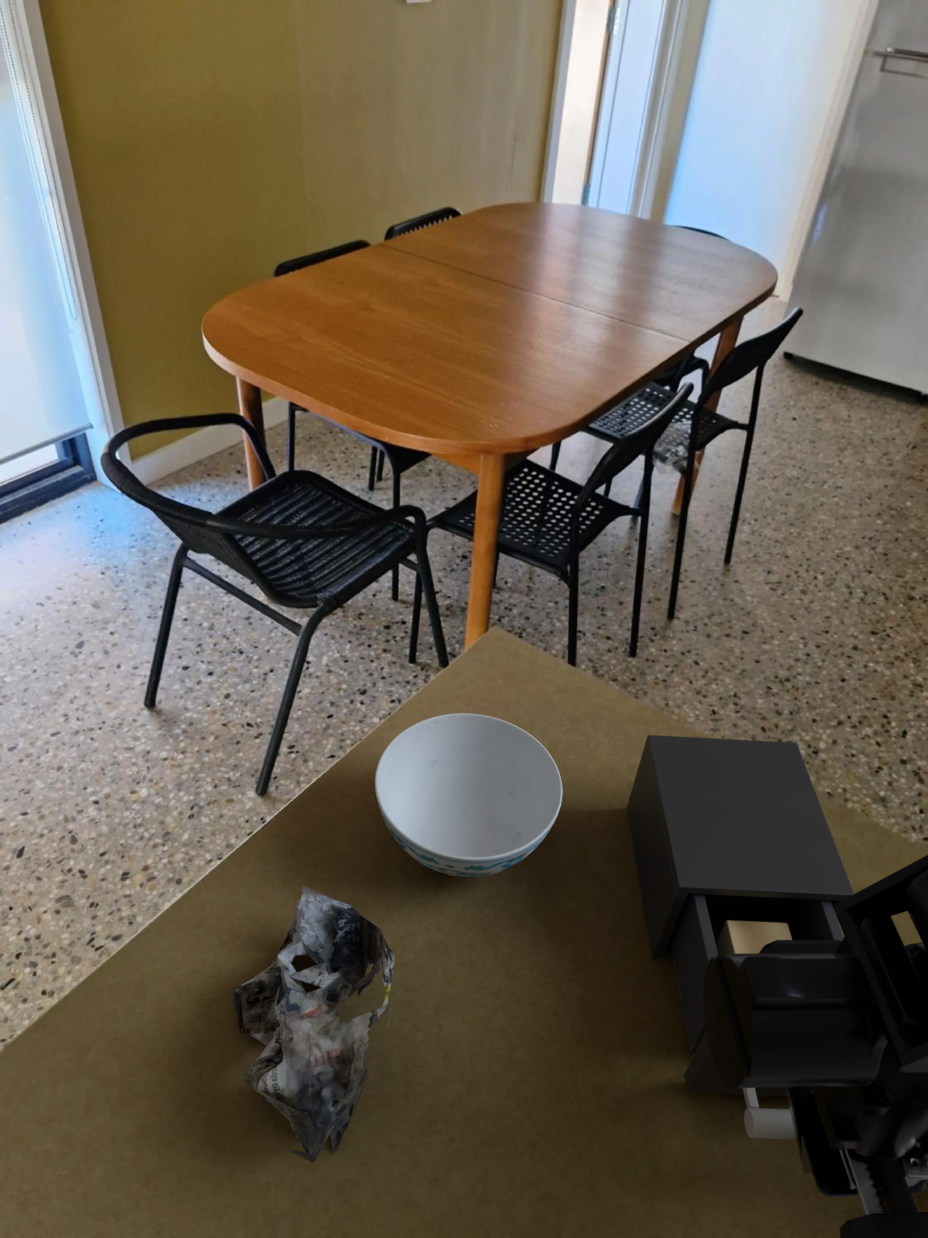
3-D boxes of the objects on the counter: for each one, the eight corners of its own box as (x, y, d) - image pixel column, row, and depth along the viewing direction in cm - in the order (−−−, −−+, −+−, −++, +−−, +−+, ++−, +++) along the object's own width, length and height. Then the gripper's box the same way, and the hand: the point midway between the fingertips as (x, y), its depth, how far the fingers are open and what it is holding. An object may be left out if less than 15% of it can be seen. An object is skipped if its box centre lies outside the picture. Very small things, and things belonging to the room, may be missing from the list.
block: (769, 955, 67) (787, 922, 64) (785, 1013, 64) (805, 981, 61) (711, 953, 67) (726, 919, 64) (724, 1011, 63) (740, 978, 61)
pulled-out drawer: (874, 1169, 57) (921, 1119, 52) (699, 1163, 57) (730, 1112, 52) (796, 921, 71) (828, 862, 66) (654, 914, 70) (676, 855, 65)
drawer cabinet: (812, 966, 69) (855, 895, 63) (651, 959, 68) (679, 887, 62) (764, 815, 80) (797, 742, 74) (626, 808, 80) (647, 734, 74)
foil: (455, 946, 64) (360, 1046, 50) (403, 1071, 66) (297, 1200, 52) (324, 869, 68) (201, 941, 54) (278, 988, 70) (148, 1089, 56)
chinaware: (494, 952, 68) (504, 894, 63) (338, 858, 73) (336, 799, 69) (579, 821, 78) (593, 762, 73) (436, 748, 84) (440, 689, 79)
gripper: (1190, 1269, 37) (1017, 1359, 47) (974, 883, 52) (876, 1014, 61) (936, 1276, 36) (814, 1367, 46) (788, 882, 51) (720, 1015, 61)
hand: (810, 1166), depth 54 cm, fingers closed
